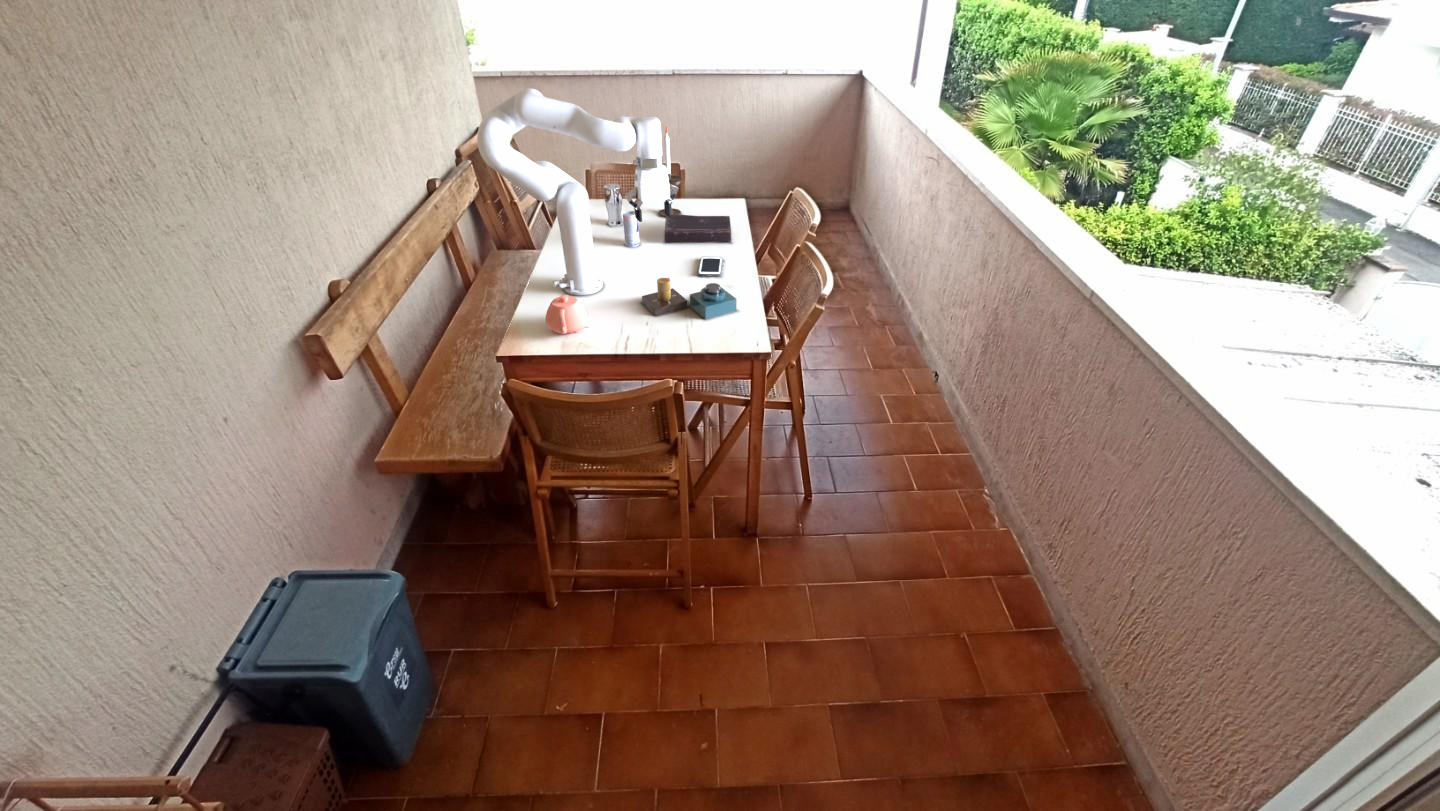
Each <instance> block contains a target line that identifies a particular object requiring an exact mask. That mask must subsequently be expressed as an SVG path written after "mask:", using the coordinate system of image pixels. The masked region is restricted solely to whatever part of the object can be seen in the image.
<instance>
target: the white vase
mask: <svg viewBox="0 0 1440 811" xmlns="http://www.w3.org/2000/svg"><path fill="white" fill-rule="evenodd" d="M603 198H604V199H603V200H604V204H605V208H606V212H607V225H608V226H610V227H615V228H616V227H620V226H624V224H623V214H622V209H623V193H622V187H621V184H618V183H608V184H605V185H603Z"/></svg>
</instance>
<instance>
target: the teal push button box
mask: <svg viewBox="0 0 1440 811" xmlns="http://www.w3.org/2000/svg"><path fill="white" fill-rule="evenodd" d="M689 307H690V308H691V309H693V311H695V312H696V313H697V314H698V315H700V316H701V317H702V318H703V319H705V320H709V319H713V318H715V317H720V316H723V315H727V314H730V313H734V312H737V298H736V297H735V296H734V295H732V294H731V293H729V292H728V291H727V290H726V289H724V288H723V287H722V286H720V293H719V294H717V295H709V294H706V286H704V287H703V288H701V290H700V291H697V292H693V293H690V294H689Z"/></svg>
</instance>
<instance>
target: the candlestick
mask: <svg viewBox="0 0 1440 811" xmlns="http://www.w3.org/2000/svg"><path fill="white" fill-rule="evenodd" d="M668 131H669V124H667V125H666V127H665V135H664V137H663V139H664V159H665V164H664V165H665V166H666V170H667V174H668V180H669V184H671V185H674V186H679V185H680V184H682V183H683V178H682V176H679V175H675V174H673V173H674V171H671V150H670V148H671V147H670V137H669V135H668ZM671 193H672V189H670V194H671ZM671 215H682V211H681V210H680V209H678V208H674V207H672V206H671ZM658 216H659V217H661V218H665V219H666V214H665V210H664V208H662V209H660V210H659V211H658Z"/></svg>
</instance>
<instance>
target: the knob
mask: <svg viewBox="0 0 1440 811" xmlns="http://www.w3.org/2000/svg"><path fill="white" fill-rule="evenodd" d="M656 282H657V283H656V285H657V292H658V299H659V300H661V301H667V300H670V299H671V289H672V288H671V279H670V277H660V278H658V279H656Z"/></svg>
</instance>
